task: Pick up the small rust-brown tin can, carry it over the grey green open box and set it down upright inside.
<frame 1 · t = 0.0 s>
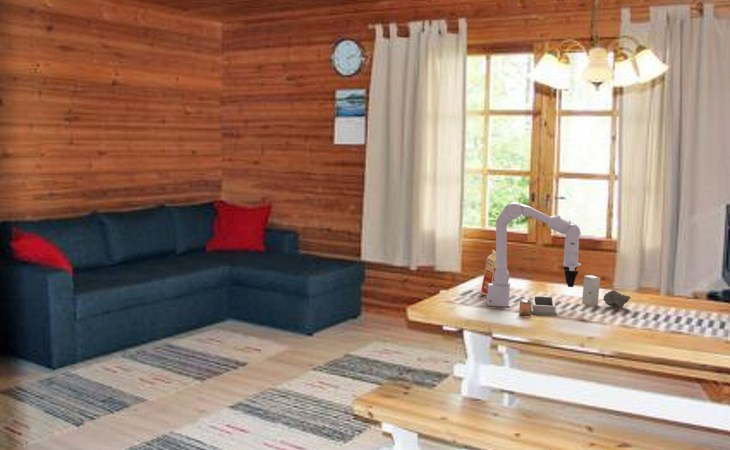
hand: (569, 285, 294), 10 cm above the table, tool pointing down, fingers open, 7 cm apart
grey green open box: (543, 311, 290), on the table
spout can: (525, 315, 283), on the table
fossil: (616, 308, 298), on the table
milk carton: (494, 294, 321), on the table
skincare box: (590, 304, 305), on the table
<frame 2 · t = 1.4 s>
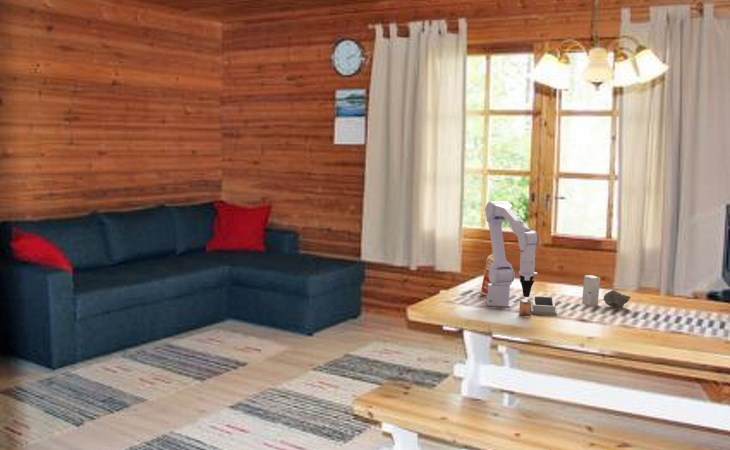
hand: (526, 294, 282), 8 cm above the table, tool pointing down, fingers open, 7 cm apart
nothing on the table moved.
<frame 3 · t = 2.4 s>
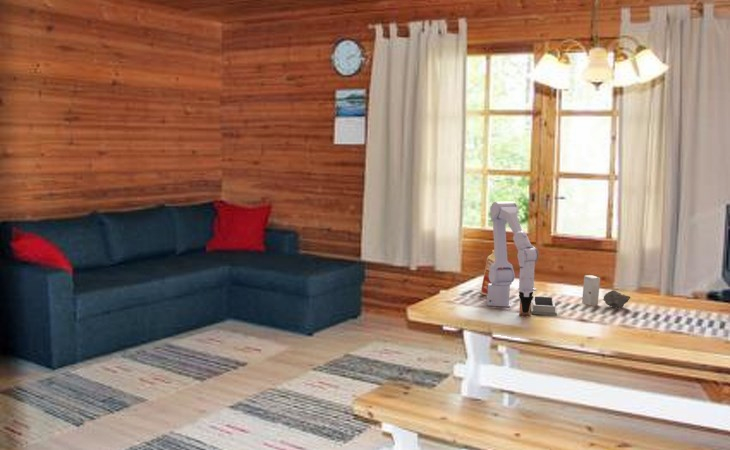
hand: (525, 310, 283), 2 cm above the table, tool pointing down, fingers closed on spout can, 5 cm apart
spout can: (525, 315, 283), on the table, touching gripper
everything else where it was.
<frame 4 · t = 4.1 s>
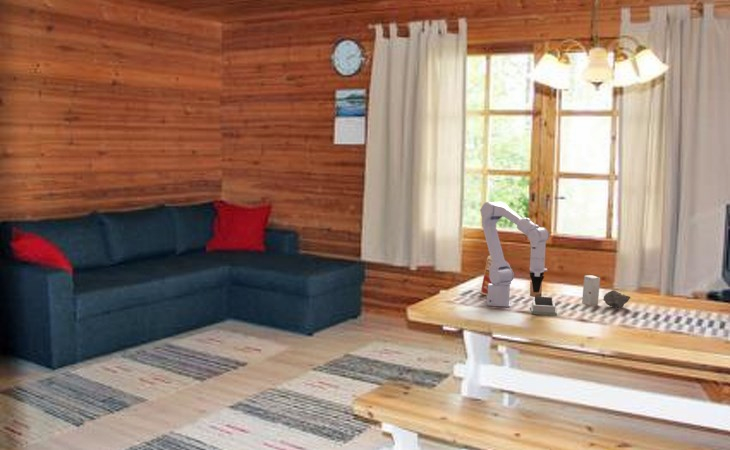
hand: (536, 290, 286), 9 cm above the table, tool pointing down, fingers closed on spout can, 5 cm apart
spout can: (535, 295, 286), point 7 cm above the table, touching gripper
everything else where it was.
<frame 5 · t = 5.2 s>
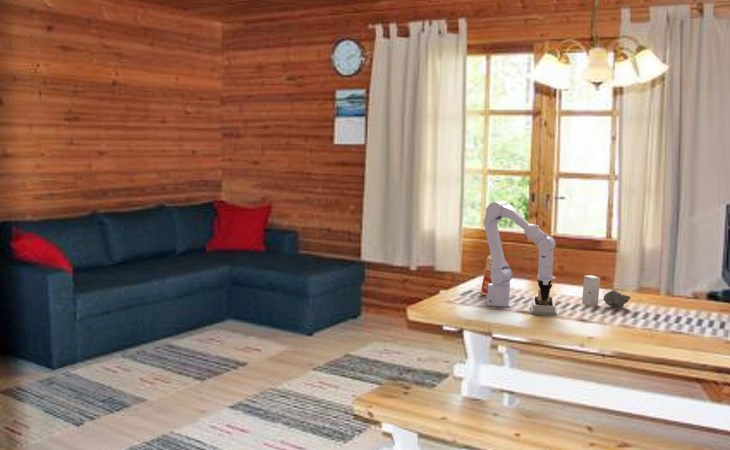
hand: (544, 298, 289), 5 cm above the table, tool pointing down, fingers closed on spout can, 5 cm apart
spout can: (543, 303, 289), point 3 cm above the table, touching gripper
everything else where it was.
when the fingers open (4 cm above the table, at t = 5.9 s): spout can stays where it is, resting on grey green open box.
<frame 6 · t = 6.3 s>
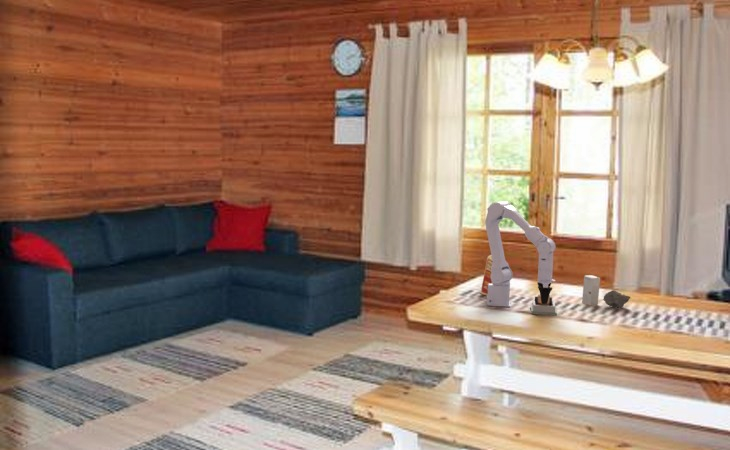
hand: (543, 301, 289), 4 cm above the table, tool pointing down, fingers open, 7 cm apart
spout can: (543, 308, 290), point 1 cm above the table, touching grey green open box
everything else where it was.
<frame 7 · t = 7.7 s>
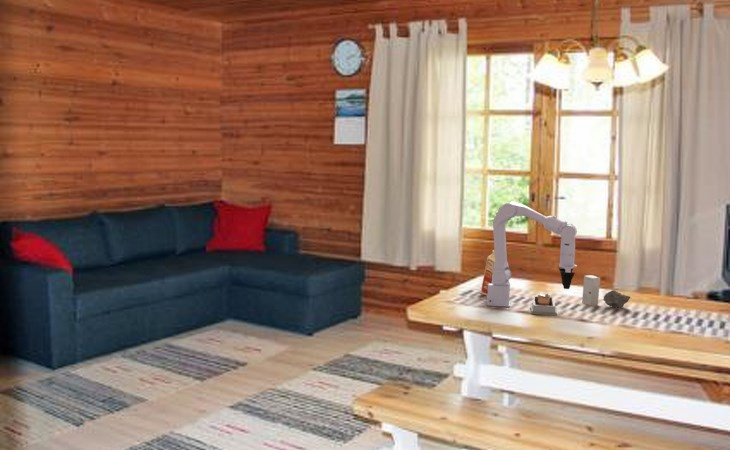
hand: (565, 286, 288), 10 cm above the table, tool pointing down, fingers open, 7 cm apart
nothing on the table moved.
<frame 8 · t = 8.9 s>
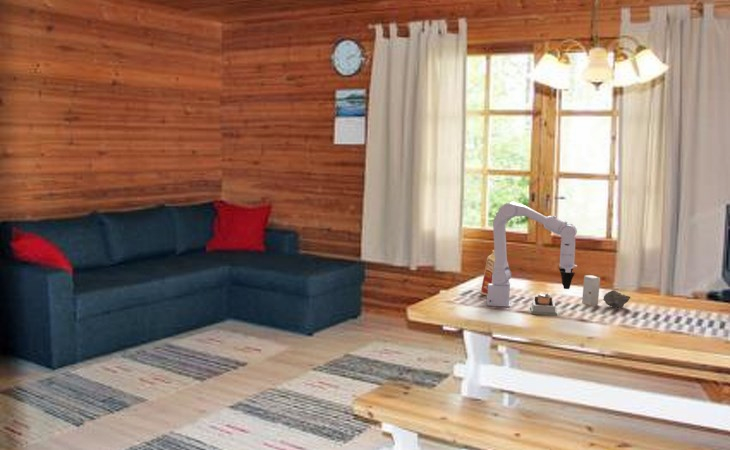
hand: (565, 286, 288), 10 cm above the table, tool pointing down, fingers open, 7 cm apart
nothing on the table moved.
at the end: spout can inside the target area on the grey green open box (0.1 cm from its centre), point 1.0 cm above the grey green open box's base; spout can tilted 0°; the gripper is holding nothing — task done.
